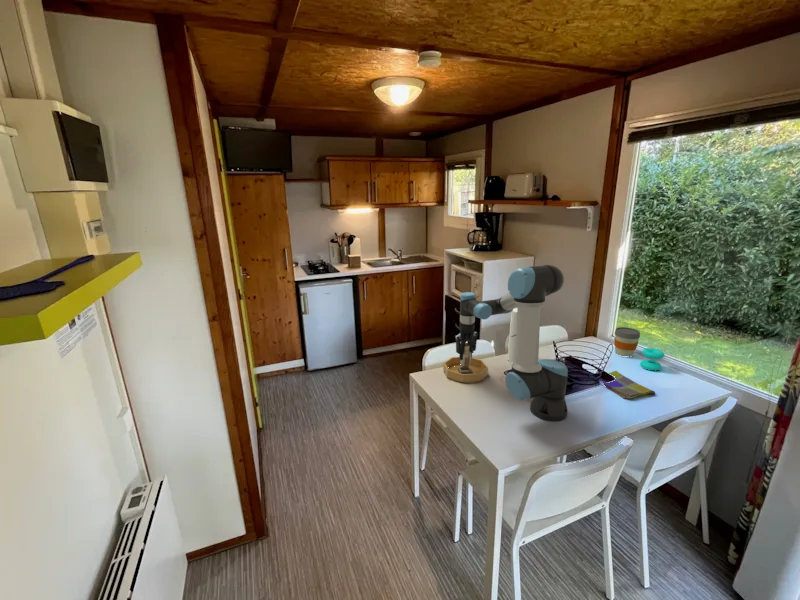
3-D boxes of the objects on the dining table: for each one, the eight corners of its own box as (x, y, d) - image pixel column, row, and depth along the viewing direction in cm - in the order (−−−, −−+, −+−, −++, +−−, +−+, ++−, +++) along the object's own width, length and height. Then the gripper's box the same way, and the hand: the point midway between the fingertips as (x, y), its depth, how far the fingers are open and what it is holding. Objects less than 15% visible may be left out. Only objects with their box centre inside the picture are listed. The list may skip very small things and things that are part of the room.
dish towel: (616, 373, 198) (617, 369, 197) (657, 396, 175) (658, 391, 174) (588, 378, 194) (589, 373, 193) (627, 402, 171) (628, 396, 170)
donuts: (647, 345, 207) (668, 351, 199) (644, 362, 210) (664, 368, 202) (639, 350, 201) (660, 356, 194) (636, 367, 204) (657, 373, 196)
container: (525, 363, 210) (529, 312, 202) (509, 363, 210) (513, 312, 202) (520, 357, 218) (524, 308, 210) (506, 357, 218) (509, 308, 210)
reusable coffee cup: (640, 355, 218) (644, 331, 214) (629, 361, 212) (633, 336, 208) (619, 348, 228) (622, 325, 224) (607, 353, 222) (610, 329, 218)
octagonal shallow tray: (492, 381, 190) (492, 372, 189) (450, 384, 188) (450, 375, 187) (478, 363, 211) (478, 355, 210) (440, 365, 209) (440, 358, 207)
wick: (469, 368, 197) (470, 345, 194) (463, 368, 197) (463, 345, 193) (467, 365, 200) (468, 342, 197) (461, 365, 200) (462, 342, 197)
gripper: (475, 317, 198) (473, 358, 205) (449, 322, 192) (448, 364, 198) (484, 322, 192) (482, 364, 198) (457, 326, 185) (456, 370, 191)
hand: (465, 364), depth 198 cm, fingers closed on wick, 3 cm apart
